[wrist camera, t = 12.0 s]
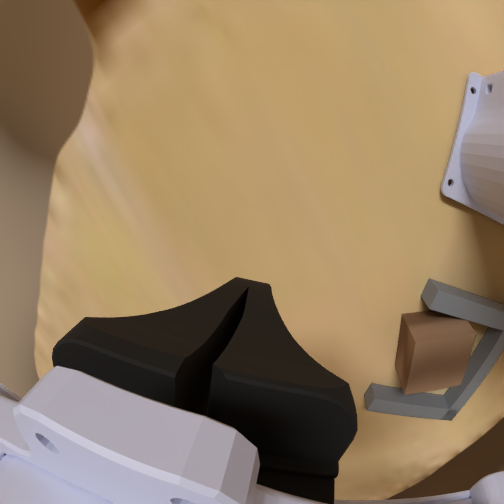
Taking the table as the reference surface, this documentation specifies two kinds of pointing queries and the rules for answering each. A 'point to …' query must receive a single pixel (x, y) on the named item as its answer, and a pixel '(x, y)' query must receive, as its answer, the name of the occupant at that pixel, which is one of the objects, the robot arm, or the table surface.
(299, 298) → the table surface
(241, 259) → the table surface
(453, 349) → the walnut block
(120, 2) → the table surface
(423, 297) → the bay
